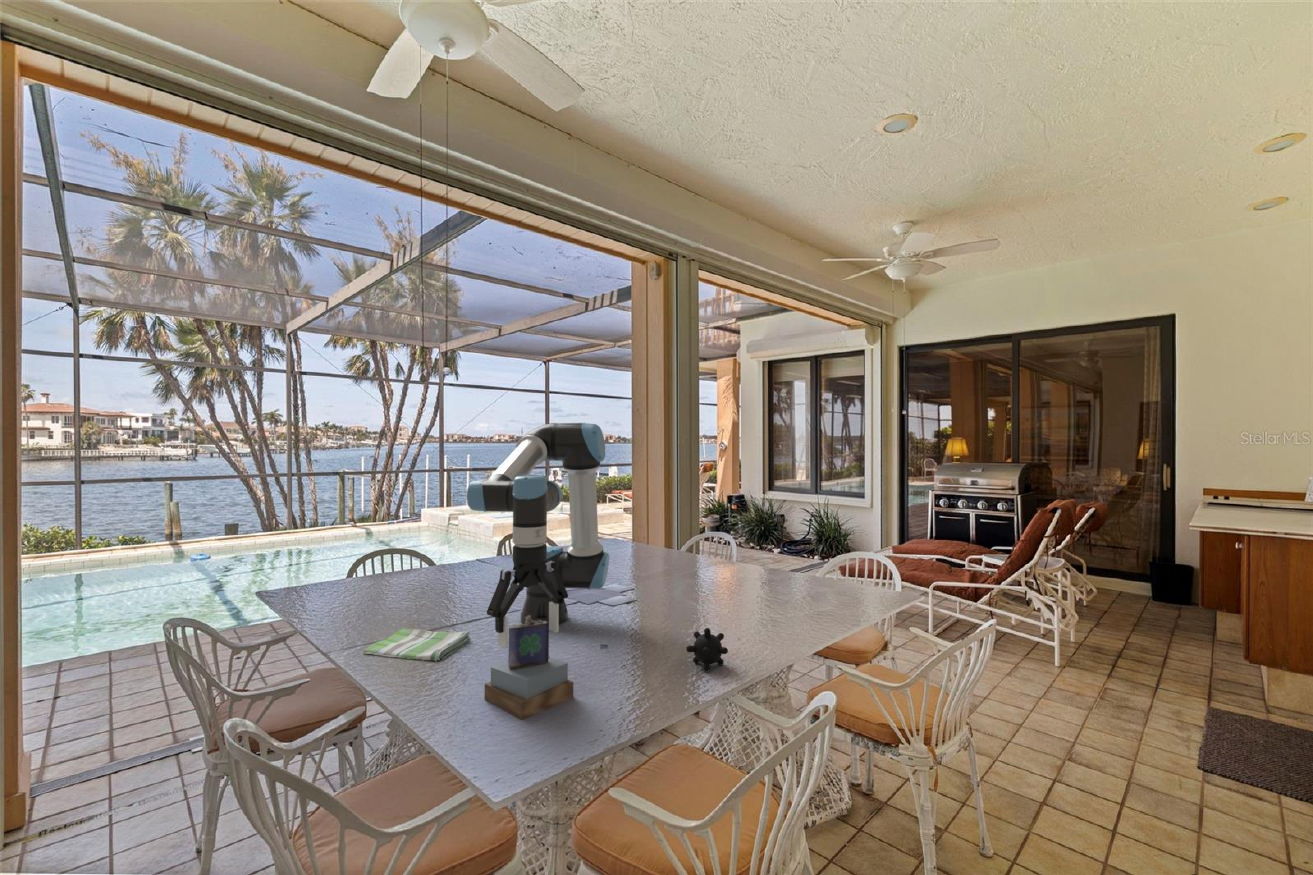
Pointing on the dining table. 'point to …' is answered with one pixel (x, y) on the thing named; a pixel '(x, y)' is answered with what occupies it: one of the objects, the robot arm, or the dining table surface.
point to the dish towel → (420, 644)
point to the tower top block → (529, 677)
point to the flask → (528, 643)
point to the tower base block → (528, 706)
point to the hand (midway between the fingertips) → (529, 638)
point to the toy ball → (707, 648)
